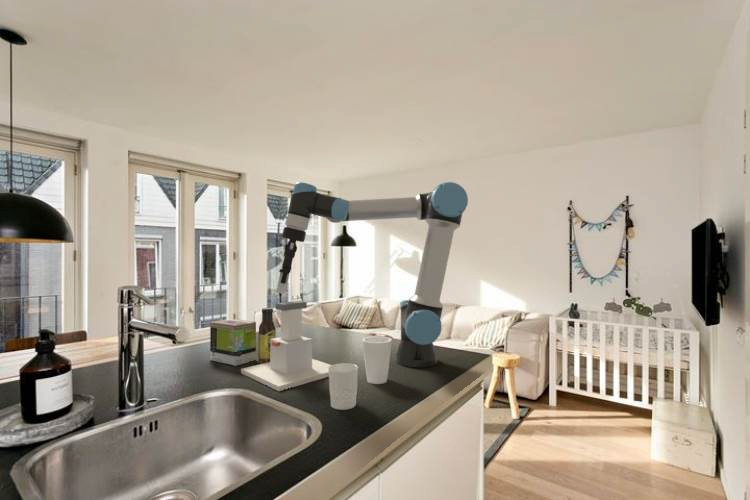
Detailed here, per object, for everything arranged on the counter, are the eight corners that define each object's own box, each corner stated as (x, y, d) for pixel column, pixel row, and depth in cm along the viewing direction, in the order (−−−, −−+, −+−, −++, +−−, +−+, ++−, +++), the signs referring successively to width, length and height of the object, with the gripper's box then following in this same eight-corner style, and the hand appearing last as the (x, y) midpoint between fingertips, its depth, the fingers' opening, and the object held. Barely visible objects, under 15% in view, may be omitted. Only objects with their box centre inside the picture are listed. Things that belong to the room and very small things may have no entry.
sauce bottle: (270, 364, 137) (270, 310, 137) (254, 363, 138) (254, 309, 138) (278, 359, 143) (278, 307, 144) (263, 358, 145) (263, 307, 145)
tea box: (257, 360, 143) (257, 321, 143) (234, 366, 135) (234, 325, 135) (231, 354, 151) (231, 317, 151) (209, 360, 143) (209, 321, 143)
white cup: (329, 399, 104) (329, 363, 104) (357, 398, 105) (357, 362, 105) (328, 411, 96) (327, 372, 96) (358, 410, 97) (358, 371, 97)
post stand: (341, 372, 128) (341, 338, 128) (278, 391, 110) (278, 352, 111) (300, 358, 144) (300, 328, 145) (241, 373, 127) (241, 339, 127)
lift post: (307, 366, 129) (306, 302, 129) (283, 372, 122) (283, 304, 123) (298, 363, 133) (298, 300, 133) (275, 368, 126) (275, 303, 126)
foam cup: (395, 377, 123) (395, 337, 123) (387, 387, 114) (387, 344, 114) (368, 374, 126) (368, 335, 126) (357, 383, 117) (357, 341, 117)
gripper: (284, 226, 138) (270, 282, 138) (284, 225, 114) (267, 293, 114) (304, 231, 140) (291, 287, 140) (308, 231, 116) (292, 298, 115)
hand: (280, 290), depth 127 cm, fingers open, 13 cm apart
